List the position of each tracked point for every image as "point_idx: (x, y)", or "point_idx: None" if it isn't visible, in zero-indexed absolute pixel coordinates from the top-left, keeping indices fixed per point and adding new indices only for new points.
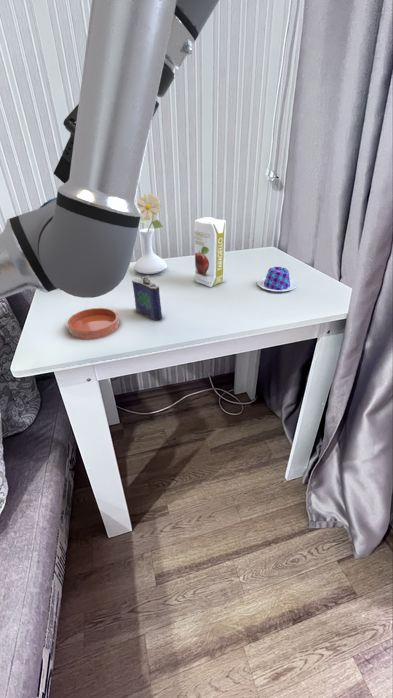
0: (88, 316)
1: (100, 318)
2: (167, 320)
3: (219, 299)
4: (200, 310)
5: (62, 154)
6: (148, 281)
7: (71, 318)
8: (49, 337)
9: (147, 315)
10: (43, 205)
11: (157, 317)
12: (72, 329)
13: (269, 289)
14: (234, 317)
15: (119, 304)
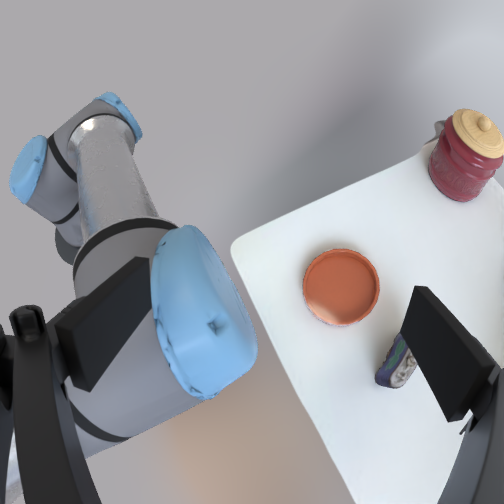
0: (363, 265)
1: (361, 287)
2: (378, 395)
3: (452, 447)
4: (415, 433)
5: (79, 298)
6: (410, 364)
7: (336, 251)
8: (298, 240)
9: (387, 358)
10: (157, 247)
11: (376, 380)
12: (306, 270)
13: None
14: (394, 485)
15: None
